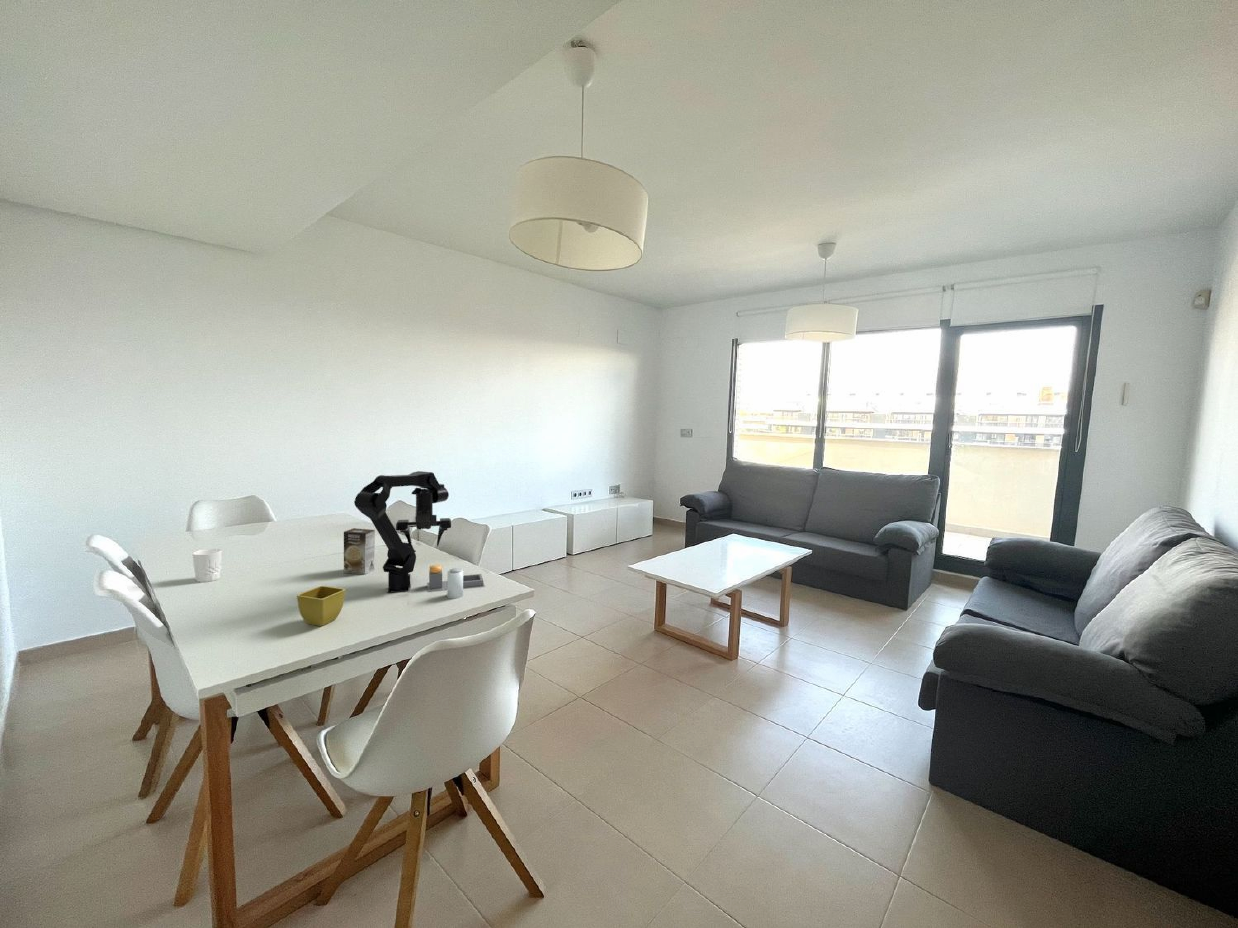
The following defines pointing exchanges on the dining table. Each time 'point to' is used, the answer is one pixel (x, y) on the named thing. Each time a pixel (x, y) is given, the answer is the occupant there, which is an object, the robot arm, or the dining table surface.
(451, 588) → the cylinder
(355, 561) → the coffee box
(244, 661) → the dining table surface
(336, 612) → the flower pot
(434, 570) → the yellow rounded piece
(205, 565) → the white cup
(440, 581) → the gray holder stand
